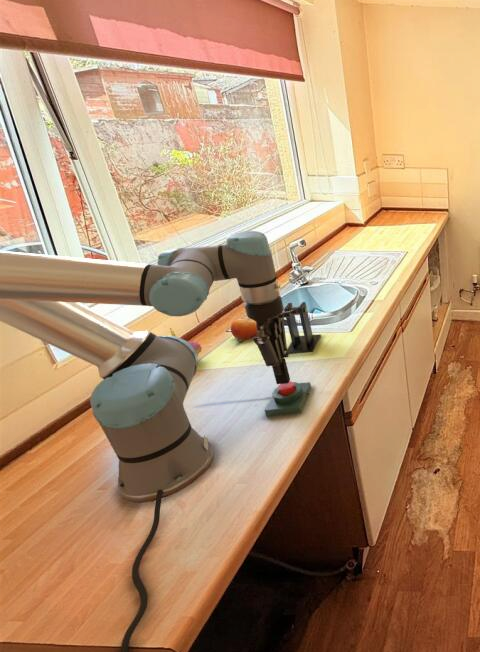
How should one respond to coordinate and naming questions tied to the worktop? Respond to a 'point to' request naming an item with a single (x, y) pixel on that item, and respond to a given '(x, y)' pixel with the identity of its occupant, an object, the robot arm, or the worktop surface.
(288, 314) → the lever
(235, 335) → the fruit
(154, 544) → the worktop surface
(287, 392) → the button
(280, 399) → the button box
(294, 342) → the bracket
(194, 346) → the cupcake
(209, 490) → the worktop surface
